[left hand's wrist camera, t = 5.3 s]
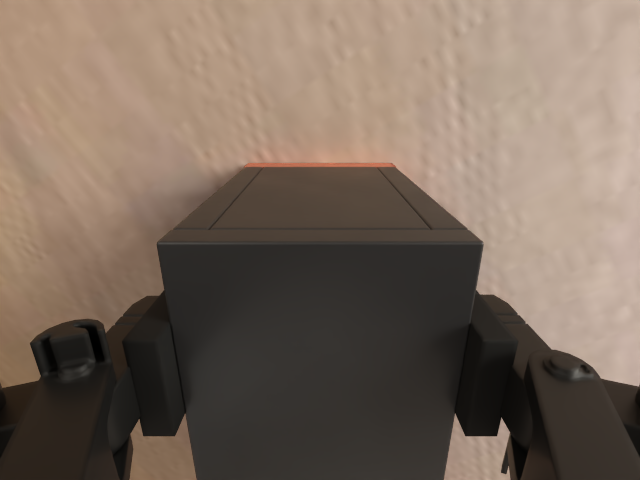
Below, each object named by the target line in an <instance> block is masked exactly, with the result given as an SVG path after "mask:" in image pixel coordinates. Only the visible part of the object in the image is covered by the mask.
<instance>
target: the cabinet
mask: <svg viewBox="0 0 640 480" xmlns="http://www.w3.org/2000/svg"><path fill="white" fill-rule="evenodd" d="M483 245H484V244H483V241H481V240H480V239H479V238H478V237H477V236H475V235H474V234H473V233H472V232H471V231H469V230H468V229H467V228H466V227H465V226H464V225H463V224H461V223H460V222H459V221H458V220H457V219H456V218H454V217H453V216H452V215H451V214H450V213H449V212H447V211H446V210H445V209H444V208H443V207H441V206H440V205H439V204H438V203H437V202H436V201H434V200H433V199H432V198H431V197H430V196H429V195H427V194H426V193H425V192H424V191H423V190H421V189H420V188H419V187H418V186H417V185H416V184H414V183H413V182H412V181H411V180H410V179H409V178H407V177H406V176H405V175H404V174H403V173H401V172H400V171H399V170H398V169H397V168H396V166H394V165H393V164H392V163H248V164H247V165H246V166H244V169H243V170H241V171H240V172H239V173H238V174H237V175H236V176H234V177H233V178H232V179H231V180H230V181H229V182H227V183H226V184H225V185H224V186H223V187H222V188H220V189H219V190H218V191H217V192H216V193H215V194H213V195H212V196H211V197H210V198H209V199H208V200H206V201H205V202H204V203H203V204H202V205H201V206H199V207H198V208H197V209H196V210H195V211H194V212H192V213H191V214H190V215H189V216H188V217H187V218H185V219H184V220H183V221H182V222H181V223H180V224H178V225H177V226H176V227H175V228H174V229H173V230H171V231H170V232H169V233H167V234H166V235H165V236H164V237H163V238H161V239H160V240H159V241H158V242H157V249H158V255H159V261H160V267H161V273H162V278H163V284H164V290H165V296H166V302H167V308H168V314H169V319H170V325H171V331H172V337H173V343H174V349H175V355H176V360H177V366H178V372H179V378H180V384H181V390H182V396H183V402H184V407H185V413H186V419H187V425H188V431H189V437H190V443H191V448H192V454H193V460H194V466H195V472H196V478H197V480H444V474H445V468H446V463H447V457H448V451H449V445H450V439H451V433H452V427H453V421H454V416H455V410H456V404H457V398H458V392H459V386H460V380H461V374H462V369H463V363H464V357H465V351H466V345H467V339H468V333H469V327H470V321H471V316H472V310H473V304H474V298H475V292H476V286H477V280H478V274H479V269H480V263H481V257H482V251H483Z"/></svg>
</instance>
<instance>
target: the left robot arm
mask: <svg viewBox="0 0 640 480" xmlns="http://www.w3.org/2000/svg"><path fill="white" fill-rule="evenodd" d="M30 345H31V348H32V351H33V354H34V357H35V360H36V363H37V366H38V369H39V372H40V375H41V377H40V379H39V381H35V382H30V383H25V384H20V385H16V386H11V387H6V388H2V386H1V384H0V480H129V479H130V471H131V463H132V455H133V445H132V439H131V435H130V434H131V432H132V430H133V428H134V427H135V425H136V423H137V421H138V420H139V419H140V423H141V428H142V432H143V436H175V435H176V433H177V430H178V428H179V426H180V423H181V421H182V419H183V417H184V414H185V407H184V402H183V396H182V390H181V384H180V378H179V372H178V366H177V360H176V355H175V349H174V343H173V337H172V331H171V325H170V319H169V314H168V308H167V302H166V296H165V290H164V291H163V292H162V293H161V295H160V296H146V297H145V298H143V299H141V300H140V301H138V302H136V303H134V304H133V305H132V306H131V307H130V308H129V309H128V310H127V311H126V312H125V313H124V314H123V317H121V318H120V319H119V320H118V321H117V322H116V323H115V325H113V326H112V327H111V328H110V329H109V330H108V332H107V333H105V329H104V325H103V324H102V323H101V322H99V321H98V320H92V319H81V320H73V321H69V322H65V323H61V324H59V325H56V326H54V327H52V328H49V329H47V330H46V331H44V332H42V333H41V334H39V335H38V336H36V337H35V338H34V340H33V341H32V342H31V343H30ZM455 413H456V416H457V418H458V420H459V423H460V425H461V427H462V429H463V432H464V434H465V436H497V434H498V429H499V425H500V421H501V417H502V419H503V421H504V422H505V424H506V426H507V428H508V429H509V431H510V435H509V439H508V443H507V447H506V452H505V456H504V460H503V464H502V470H501V473H504V474H506V473H507V469H508V466H509V470H510V478H511V480H640V385H639V387H638V386H633V385H628V384H623V383H618V382H613V381H608V380H604V379H601V378H600V376H599V375H598V374H597V372H596V371H595V370H594V369H593V367H591V366H590V365H588V364H587V363H586V362H584V361H583V360H581V359H579V358H577V357H575V356H573V355H571V354H568V353H564V352H561V351H557V350H551V349H550V348H549V346H548V345H547V344H546V343H545V342H544V341H543V340H542V339H541V338H540V337H539V336H538V335H537V334H536V333H535V332H534V331H533V329H532V328H531V327H530V326H529V325H528V324H525V321H524V320H523V319H522V318H521V317H520V316H519V315H517V312H516V311H515V310H514V309H513V308H512V307H511V306H510V305H509V304H508V303H506V302H505V301H503V300H501V299H500V298H498V297H496V296H494V295H480V294H479V293H478V292H477V291H476V292H475V298H474V304H473V310H472V316H471V321H470V327H469V333H468V339H467V345H466V351H465V357H464V363H463V369H462V374H461V380H460V386H459V392H458V398H457V404H456V410H455Z"/></svg>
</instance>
